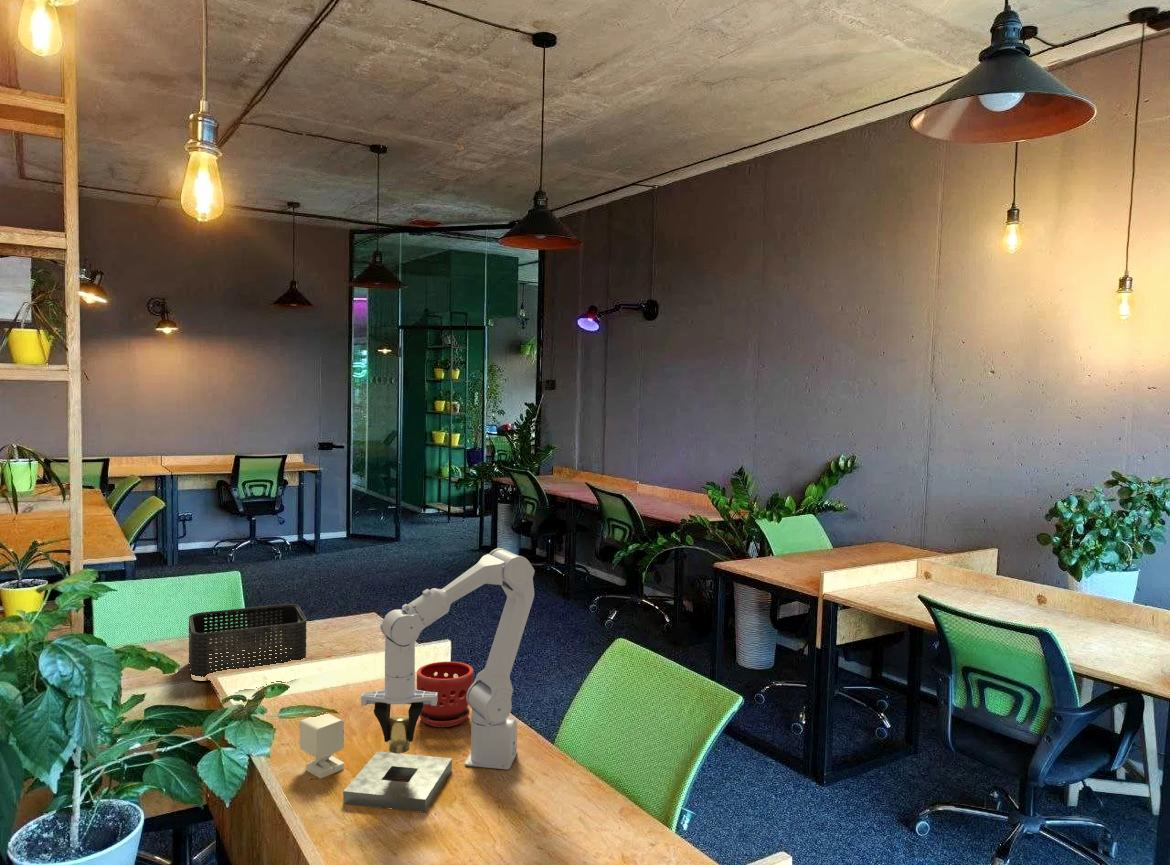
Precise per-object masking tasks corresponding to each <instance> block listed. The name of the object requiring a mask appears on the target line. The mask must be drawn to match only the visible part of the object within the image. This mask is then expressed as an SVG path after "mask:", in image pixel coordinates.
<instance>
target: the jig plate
mask: <svg viewBox="0 0 1170 865" xmlns="http://www.w3.org/2000/svg"><path fill="white" fill-rule="evenodd" d="M452 762H453V758H451V757H450V758H449V757H441V756H432V755H431V756H430V755H420V754H408V753H399V754H397V753H392V752H390V751H376V752H375V754H374V755H372V757H371V758H370V759H369V761H367V763H366V764H365V765H364V766H363V767H362V768H361V770H360V771H359V772H358V773H357V774H356V776H355V777H354V778H353V779H352V780H351V782H350V783H349V784H348V785H347V786H346V788H344V789H343V791H342V793H343V794H342V796H343V798H342V799H343V800H342V804H343V805H349V806H361V807H368V806H369V807H370V806H371V807H370V808H377V807H381V808H380V809H387V808H392V809H391V810H396V809H399V810H398V811H405V810H409V811H408V812H415V811H419V812H418V813H424V812H425V813H426V812H427V811H426V810H428V809H429V807H430V806H431V804H432V803H433V801H434V799H435V798H436V796H437V795H438V793H439V792H440V789H441V788H442V787H443V785H444V784H445V783H446V781H447V779H448V777H449V775H450V774H451V772H452V770H453V768H452V767H453V763H452ZM392 779H398V780H408V782H406V781H398V780H397V781H396V780H392ZM429 805H430V806H429ZM420 811H421V812H420Z"/></svg>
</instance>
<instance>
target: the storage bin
mask: <svg viewBox="0 0 1170 865" xmlns="http://www.w3.org/2000/svg"><path fill="white" fill-rule="evenodd" d="M307 621H308V620H307V617H306V616H305V614H304V613H303V611H302V609H301V607H300V605H298V604H294V603H284V604H283V603H282V604H273V605H265V606H264V605H263V606H262V605H261V606H251V607H243V608H232V609H224V610H223V609H221V610H214V611H213V610H211V611H201V612H197V613H192V614H191V615H189V616H188V664H189V663H190V669H191V674H192V675H195V676H201V677H202V676H203V677H205V676H206V675H207V674H209V673H213V672H216V671H222V670H227V669H236V668H237V669H239V668H249V667H255V666H263V665H270V664H276V663H284V662H288V661H291V660H301V659H303V658H306V659H307ZM280 645H282V646H280ZM275 646H277V647H275ZM269 647H270V648H269ZM259 648H261V649H259ZM285 648H287V649H285ZM290 648H292V649H290ZM280 649H282V650H280ZM242 650H245V651H242ZM269 650H272V651H269ZM275 650H276V651H275ZM260 651H261V652H260ZM264 651H266V652H264ZM226 652H229V653H226ZM253 652H256V653H253ZM259 652H260V653H259ZM285 652H287V653H285ZM215 653H218V654H215ZM220 653H222V654H220ZM248 653H250V654H248ZM275 653H277V654H275ZM280 653H282V654H280ZM209 654H212V655H209ZM237 654H239V655H237ZM242 654H244V655H242ZM269 654H272V655H269ZM232 655H234V656H232ZM259 655H261V656H259ZM264 655H265V656H264ZM221 656H223V657H221ZM226 656H228V657H226ZM253 656H256V657H253ZM286 656H287V657H286ZM215 657H217V658H215ZM243 657H245V658H243ZM248 657H250V658H248ZM275 657H277V658H275ZM209 658H212V659H209ZM237 658H240V659H237ZM264 658H266V659H264ZM269 658H271V659H269ZM231 659H234V660H231ZM258 659H261V660H258ZM290 659H291V660H290ZM221 660H223V661H221ZM249 660H250V661H249ZM253 660H255V661H253ZM281 660H282V661H281ZM215 661H218V662H215ZM243 661H245V662H243ZM275 661H276V662H275ZM209 662H212V663H209ZM237 662H239V663H237ZM227 663H228V664H227ZM232 663H233V664H232ZM259 663H261V664H259ZM221 664H223V665H221ZM249 664H250V665H249ZM253 664H254V665H253ZM215 665H217V666H215ZM243 665H244V666H243ZM210 666H211V667H210ZM233 666H234V667H233ZM226 667H229V668H226ZM221 668H223V669H221ZM190 669H189V670H190ZM211 669H212V670H211ZM215 669H217V670H215Z"/></svg>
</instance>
